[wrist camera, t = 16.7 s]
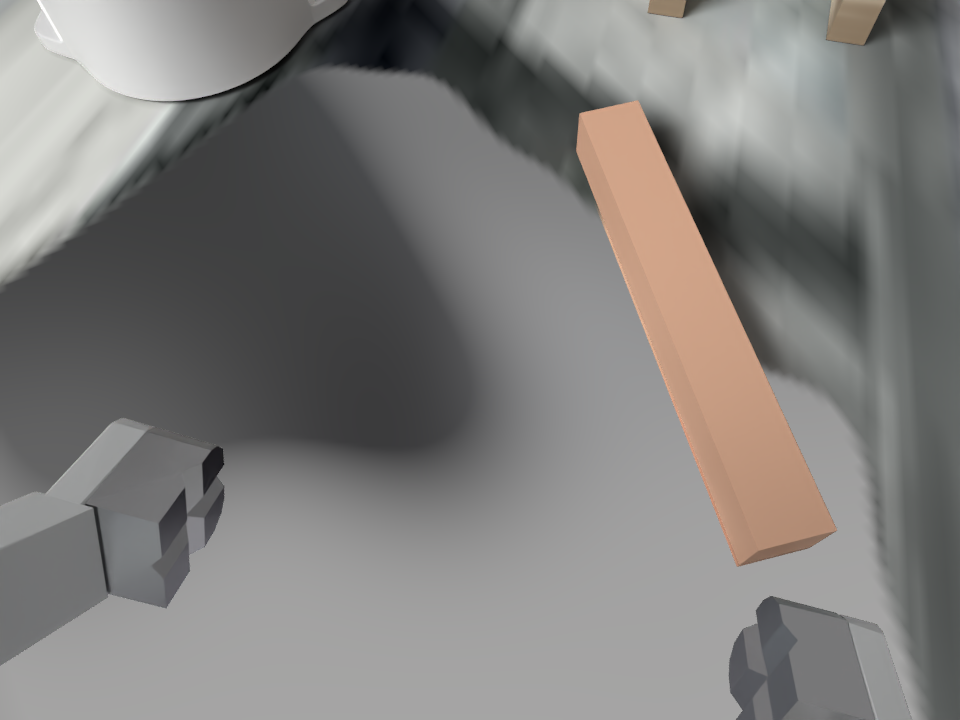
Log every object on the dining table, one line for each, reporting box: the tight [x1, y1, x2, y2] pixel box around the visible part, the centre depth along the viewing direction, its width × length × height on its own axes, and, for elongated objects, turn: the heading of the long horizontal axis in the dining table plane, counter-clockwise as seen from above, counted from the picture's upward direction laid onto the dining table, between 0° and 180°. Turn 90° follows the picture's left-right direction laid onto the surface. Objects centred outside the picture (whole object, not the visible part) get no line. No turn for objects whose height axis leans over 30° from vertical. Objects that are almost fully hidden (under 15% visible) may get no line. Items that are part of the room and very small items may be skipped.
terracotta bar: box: [576, 101, 837, 567], centre depth 33 cm, size 22×3×3 cm, turn 13°
